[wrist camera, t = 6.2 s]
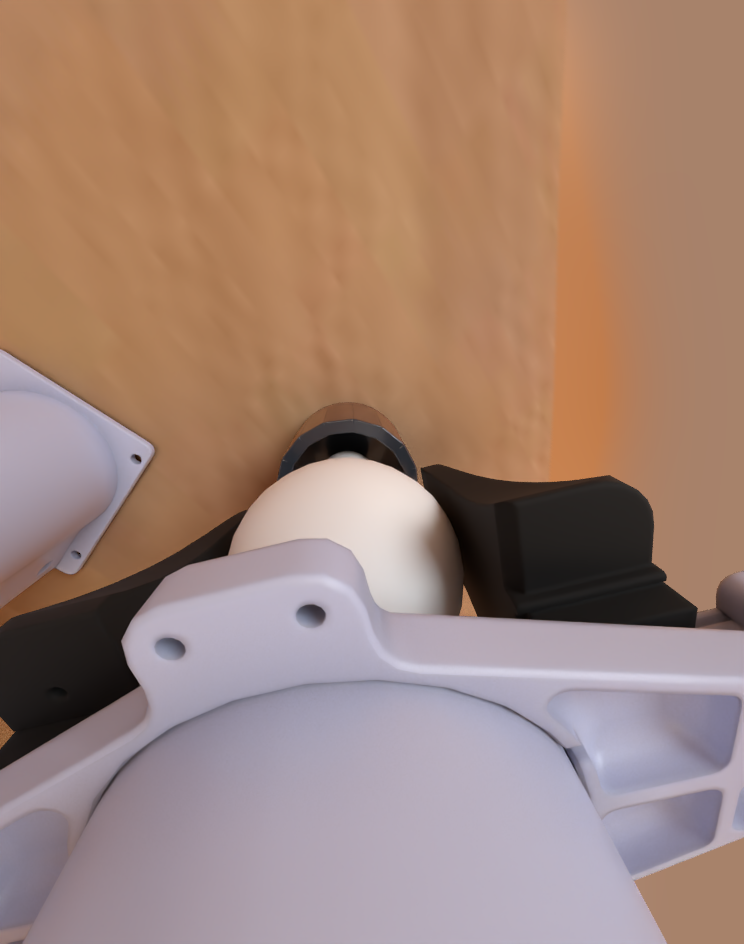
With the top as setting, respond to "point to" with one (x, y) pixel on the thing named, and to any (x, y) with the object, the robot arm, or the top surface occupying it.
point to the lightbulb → (366, 529)
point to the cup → (347, 439)
